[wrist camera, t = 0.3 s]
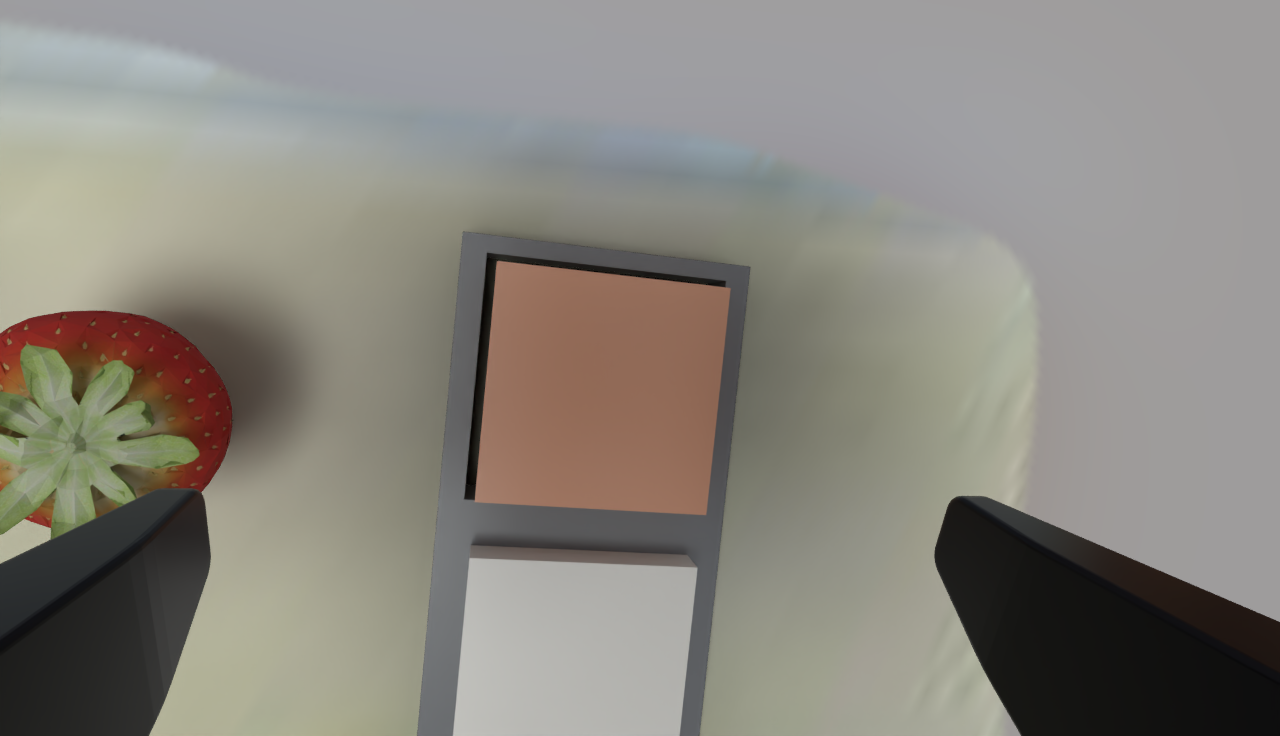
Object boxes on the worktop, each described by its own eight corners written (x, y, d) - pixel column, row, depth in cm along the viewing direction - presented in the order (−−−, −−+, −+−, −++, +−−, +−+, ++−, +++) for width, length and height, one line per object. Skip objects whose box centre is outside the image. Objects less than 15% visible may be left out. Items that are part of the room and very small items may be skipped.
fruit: (197, 526, 22) (39, 638, 15) (32, 410, 21) (-230, 464, 14) (314, 391, 23) (223, 430, 15) (158, 271, 22) (-27, 246, 14)
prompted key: (688, 498, 24) (706, 515, 22) (476, 486, 22) (474, 502, 20) (710, 290, 23) (730, 287, 21) (496, 265, 22) (496, 260, 20)
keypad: (658, 936, 26) (681, 1021, 23) (400, 950, 24) (387, 1044, 21) (729, 270, 25) (764, 263, 22) (465, 238, 23) (461, 226, 20)
